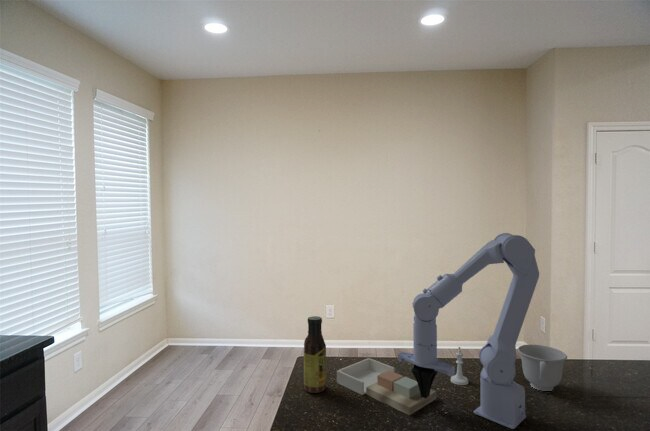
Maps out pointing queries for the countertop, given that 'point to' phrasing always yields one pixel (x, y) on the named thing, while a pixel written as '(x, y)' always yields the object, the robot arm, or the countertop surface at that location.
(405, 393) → the tile sage
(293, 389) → the countertop surface
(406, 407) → the board
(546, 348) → the teacup
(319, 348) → the sauce bottle
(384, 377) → the tile terracotta
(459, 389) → the countertop surface
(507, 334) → the robot arm
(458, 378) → the chess piece
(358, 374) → the tray
